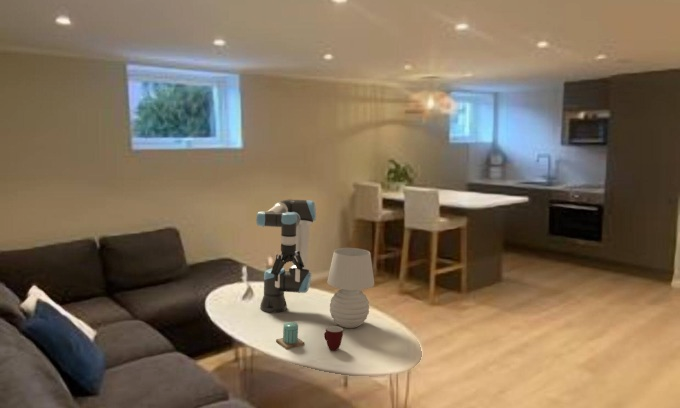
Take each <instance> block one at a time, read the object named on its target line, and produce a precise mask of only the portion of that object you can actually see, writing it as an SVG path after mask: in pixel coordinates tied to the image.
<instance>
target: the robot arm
mask: <svg viewBox="0 0 680 408" xmlns="http://www.w3.org/2000/svg"><path fill="white" fill-rule="evenodd" d="M316 210H317V209H316V203H315V202H314V200H309V199H292V198H289V199H288V198H287V199H282V200H280V201H278V202H276V203H274V204H273V205H272V207H271V208H270V209H269V210H266V211H258V212H257V214H256V218H255V219H256V220H255V221H256V225H257V226H259V227H273V228H281V229H280V230H281V231H280V232H281V233H280V243H281V245H280V251H281V254H276V258H275V260H274V263H273V265H272V268H268V269H266V270H264V274H263V295H262V299H261V302H260V305H259V306H260V308H259V309H260V310H261V311H263V312H266V313H280V312H284V311H286V310H287V307H288V305H287V301H286V298H285V293H297V294H305V293H307V292H308V291H309V289H310V287H311V281H312V273H311V272H310V269H309V268H308V257H309V242H310V231H311V226H312V225H313V224H314V222H315V221H317V212H316ZM289 262H290V263H291V265H290V267H289V268H288V271H286V269H285V267H284V266H285V265H286V264H287V263H289Z"/></svg>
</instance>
